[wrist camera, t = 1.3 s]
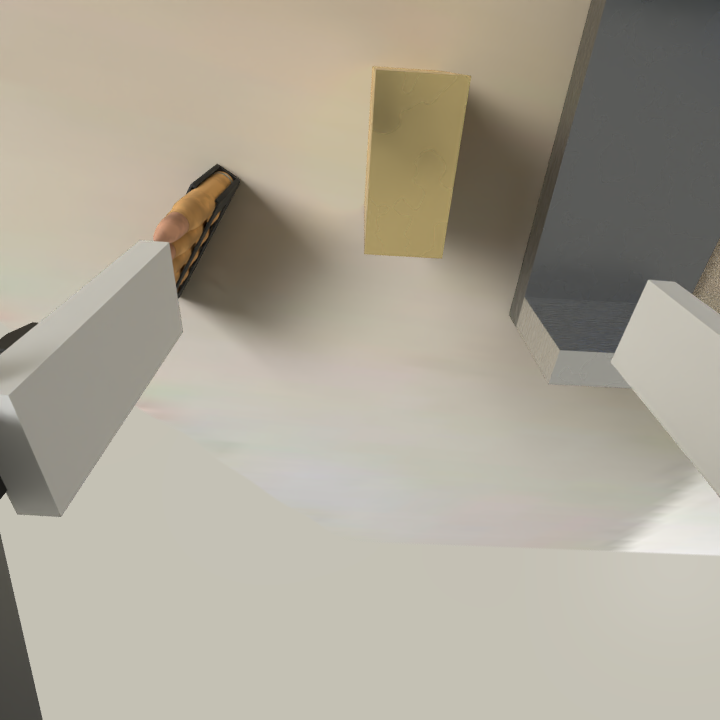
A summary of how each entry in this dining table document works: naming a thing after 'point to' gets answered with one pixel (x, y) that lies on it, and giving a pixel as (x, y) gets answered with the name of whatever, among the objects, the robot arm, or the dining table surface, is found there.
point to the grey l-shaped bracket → (624, 183)
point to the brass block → (412, 159)
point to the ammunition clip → (195, 221)
